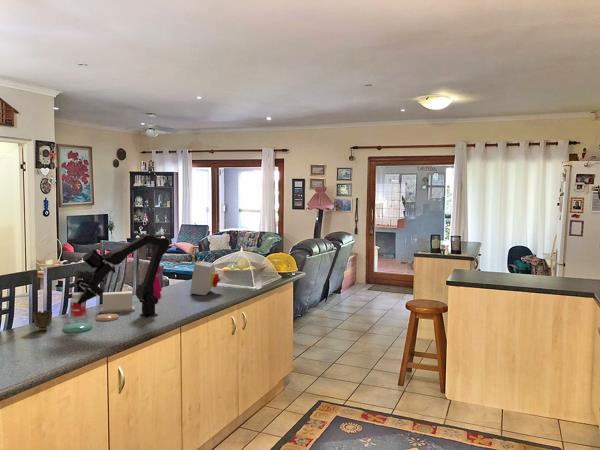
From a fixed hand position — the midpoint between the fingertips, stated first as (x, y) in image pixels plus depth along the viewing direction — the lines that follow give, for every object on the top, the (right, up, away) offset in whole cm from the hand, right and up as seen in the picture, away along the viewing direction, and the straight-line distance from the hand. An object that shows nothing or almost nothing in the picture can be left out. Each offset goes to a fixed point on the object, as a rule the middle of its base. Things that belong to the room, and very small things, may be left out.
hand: (74, 302), depth 214 cm
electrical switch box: (+42, -7, +81) cm, 91 cm away
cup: (-13, -12, -2) cm, 18 cm away
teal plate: (+1, -12, +2) cm, 12 cm away
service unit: (+6, -10, +35) cm, 37 cm away
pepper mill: (+15, -8, +68) cm, 70 cm away
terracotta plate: (+6, -11, +20) cm, 23 cm away
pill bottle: (+1, -7, +2) cm, 7 cm away
